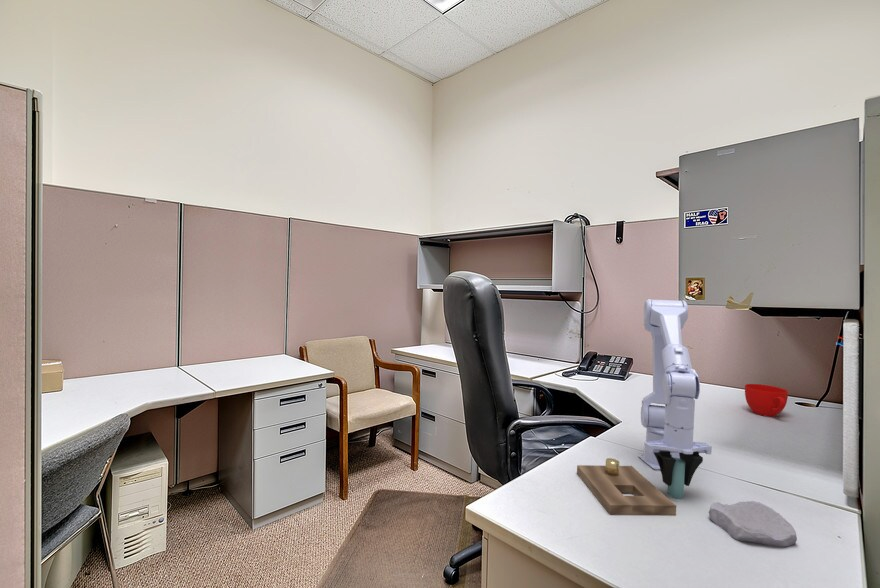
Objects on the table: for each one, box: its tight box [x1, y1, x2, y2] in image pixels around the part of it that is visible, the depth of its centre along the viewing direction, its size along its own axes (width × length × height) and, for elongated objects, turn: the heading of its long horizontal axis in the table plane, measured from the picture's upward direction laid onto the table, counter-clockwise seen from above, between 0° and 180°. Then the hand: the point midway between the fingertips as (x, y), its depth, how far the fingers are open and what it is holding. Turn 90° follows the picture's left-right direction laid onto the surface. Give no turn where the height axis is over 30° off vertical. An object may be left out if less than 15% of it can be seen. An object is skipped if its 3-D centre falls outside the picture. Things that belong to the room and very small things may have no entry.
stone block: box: [708, 500, 798, 548], centre depth 79 cm, size 12×5×10 cm
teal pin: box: [666, 457, 685, 500], centre depth 92 cm, size 3×3×8 cm
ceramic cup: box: [744, 383, 789, 418], centre depth 153 cm, size 13×17×10 cm
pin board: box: [576, 457, 677, 516], centre depth 93 cm, size 14×18×5 cm
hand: (675, 483), depth 92 cm, fingers open, 4 cm apart
